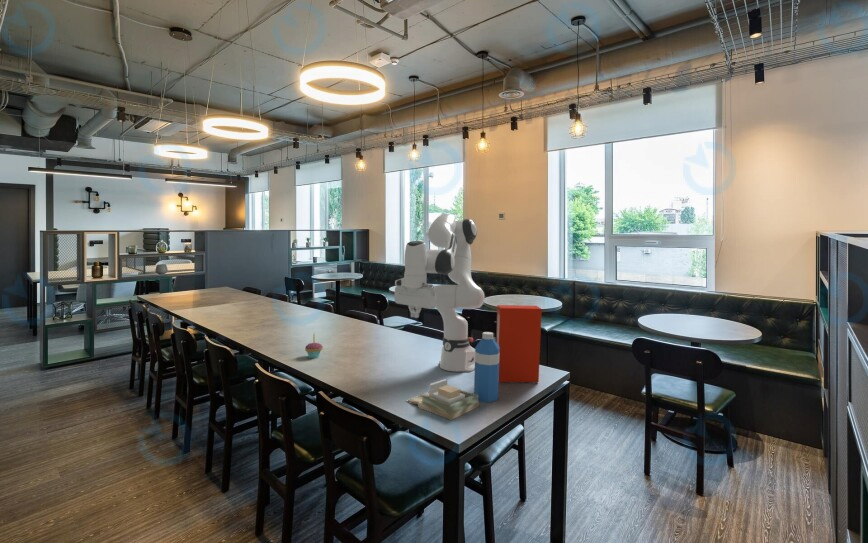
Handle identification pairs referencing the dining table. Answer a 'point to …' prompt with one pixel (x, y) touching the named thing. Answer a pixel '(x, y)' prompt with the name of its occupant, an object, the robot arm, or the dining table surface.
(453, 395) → the cart
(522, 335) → the red box
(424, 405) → the dock
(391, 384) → the dining table surface
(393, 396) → the dining table surface
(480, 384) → the water bottle
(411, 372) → the dining table surface
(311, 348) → the cupcake
